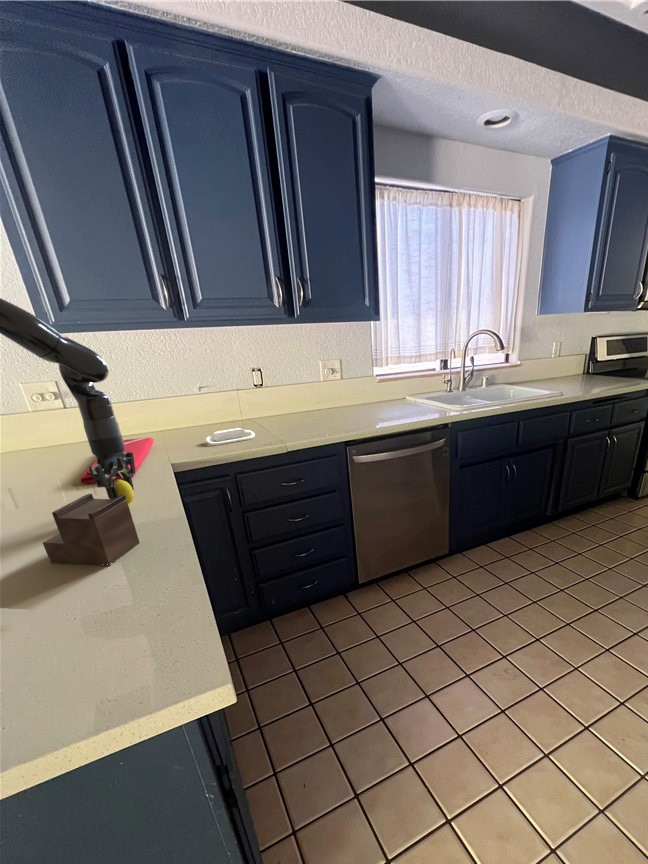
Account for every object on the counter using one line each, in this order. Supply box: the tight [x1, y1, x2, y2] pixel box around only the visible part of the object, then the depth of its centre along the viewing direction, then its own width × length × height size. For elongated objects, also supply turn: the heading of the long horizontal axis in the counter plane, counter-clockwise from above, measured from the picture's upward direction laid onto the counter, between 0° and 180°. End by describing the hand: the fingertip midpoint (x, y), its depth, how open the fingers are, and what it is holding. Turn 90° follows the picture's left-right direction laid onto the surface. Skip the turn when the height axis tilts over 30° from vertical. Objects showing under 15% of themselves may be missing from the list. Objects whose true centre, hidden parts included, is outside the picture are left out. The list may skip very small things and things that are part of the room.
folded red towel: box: [79, 437, 154, 484], centre depth 154 cm, size 16×41×4 cm, turn 17°
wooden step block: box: [42, 493, 140, 566], centre depth 93 cm, size 14×10×12 cm
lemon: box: [114, 479, 135, 505], centre depth 116 cm, size 6×6×8 cm
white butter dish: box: [205, 427, 256, 446], centre depth 179 cm, size 20×8×4 cm, turn 125°
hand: (122, 494), depth 117 cm, fingers closed on lemon, 5 cm apart
